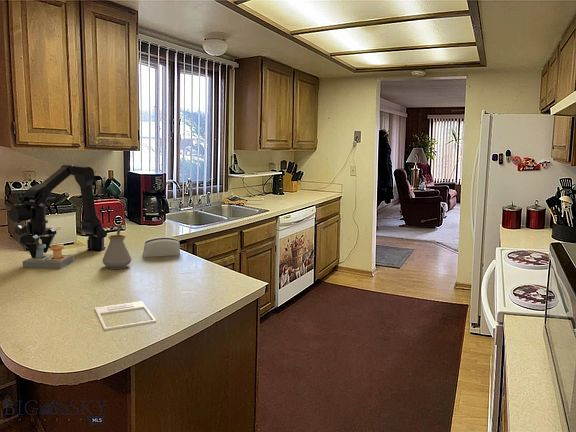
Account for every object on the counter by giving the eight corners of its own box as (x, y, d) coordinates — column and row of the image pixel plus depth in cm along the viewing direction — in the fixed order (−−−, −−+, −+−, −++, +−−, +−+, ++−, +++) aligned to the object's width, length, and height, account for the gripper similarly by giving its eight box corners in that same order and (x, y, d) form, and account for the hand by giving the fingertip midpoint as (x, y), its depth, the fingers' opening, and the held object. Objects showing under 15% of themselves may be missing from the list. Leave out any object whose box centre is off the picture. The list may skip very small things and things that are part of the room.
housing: (73, 260, 201) (73, 254, 200) (60, 268, 189) (59, 261, 188) (38, 259, 200) (38, 253, 200) (22, 267, 189) (22, 260, 188)
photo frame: (141, 300, 155) (156, 319, 140) (141, 303, 155) (156, 323, 140) (94, 307, 148) (104, 328, 132) (94, 310, 148) (104, 331, 133)
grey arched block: (178, 252, 223) (180, 234, 218) (180, 257, 219) (181, 239, 214) (142, 254, 216) (142, 235, 212) (143, 260, 212) (143, 241, 208)
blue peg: (49, 262, 197) (48, 243, 196) (42, 265, 192) (42, 246, 191) (36, 261, 197) (35, 243, 196) (30, 265, 192) (29, 246, 191)
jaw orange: (67, 262, 197) (66, 244, 196) (61, 266, 192) (60, 247, 191) (54, 262, 197) (53, 244, 196) (48, 265, 192) (47, 246, 191)
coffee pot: (130, 269, 191) (130, 234, 189) (100, 270, 188) (99, 234, 186) (133, 256, 211) (133, 224, 209) (106, 257, 209) (106, 224, 206)
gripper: (30, 214, 200) (32, 249, 203) (4, 221, 182) (6, 260, 185) (56, 215, 201) (57, 250, 203) (33, 223, 182) (35, 261, 185)
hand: (39, 255), depth 194 cm, fingers open, 9 cm apart
